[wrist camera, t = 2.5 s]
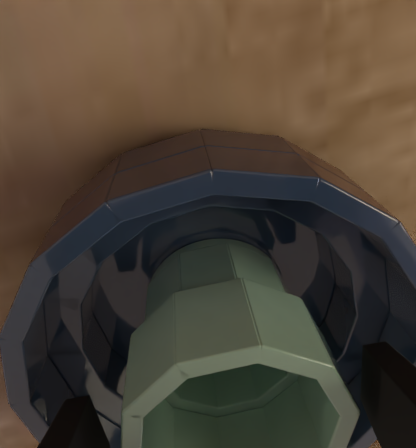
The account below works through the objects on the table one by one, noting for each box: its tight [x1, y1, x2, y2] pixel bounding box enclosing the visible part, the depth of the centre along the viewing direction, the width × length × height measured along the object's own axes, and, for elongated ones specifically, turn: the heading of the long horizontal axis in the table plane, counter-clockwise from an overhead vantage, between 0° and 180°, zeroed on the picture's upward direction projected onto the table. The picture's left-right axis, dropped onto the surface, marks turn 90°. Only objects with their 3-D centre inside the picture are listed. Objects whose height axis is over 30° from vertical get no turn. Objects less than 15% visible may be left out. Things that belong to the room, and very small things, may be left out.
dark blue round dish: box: [0, 129, 416, 448], centre depth 13 cm, size 12×12×4 cm
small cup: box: [120, 239, 360, 448], centre depth 12 cm, size 6×6×6 cm
